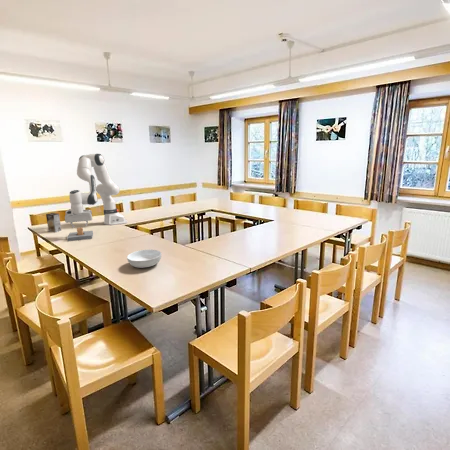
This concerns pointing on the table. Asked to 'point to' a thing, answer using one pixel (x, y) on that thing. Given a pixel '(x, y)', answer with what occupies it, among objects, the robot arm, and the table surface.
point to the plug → (80, 231)
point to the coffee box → (53, 222)
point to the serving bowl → (144, 258)
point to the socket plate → (80, 236)
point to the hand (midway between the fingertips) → (80, 226)
